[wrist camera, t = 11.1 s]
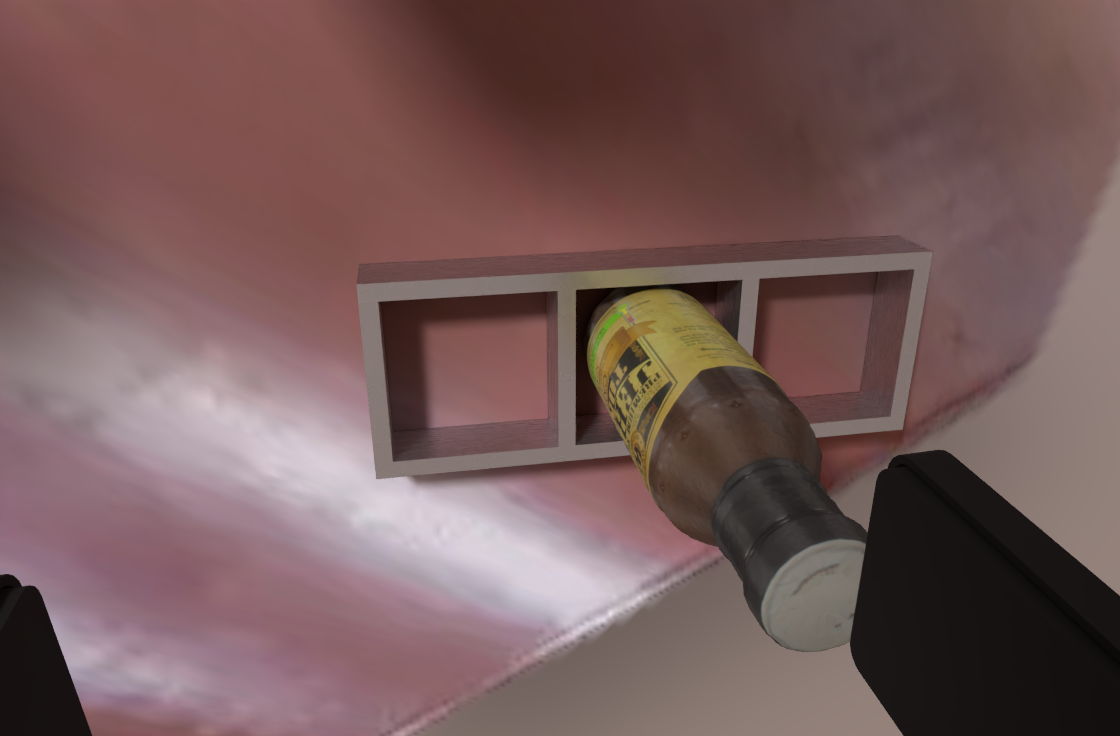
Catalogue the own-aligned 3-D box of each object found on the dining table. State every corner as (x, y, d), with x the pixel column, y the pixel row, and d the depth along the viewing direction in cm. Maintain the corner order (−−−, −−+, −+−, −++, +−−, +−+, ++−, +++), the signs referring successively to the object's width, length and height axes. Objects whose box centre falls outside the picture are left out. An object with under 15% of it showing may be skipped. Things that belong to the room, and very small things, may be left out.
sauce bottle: (573, 282, 40) (723, 508, 22) (701, 267, 41) (948, 471, 23) (581, 405, 42) (722, 699, 24) (702, 388, 43) (923, 659, 25)
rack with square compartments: (359, 264, 38) (356, 284, 35) (897, 235, 42) (933, 251, 39) (377, 448, 41) (376, 478, 39) (872, 404, 46) (902, 429, 43)
